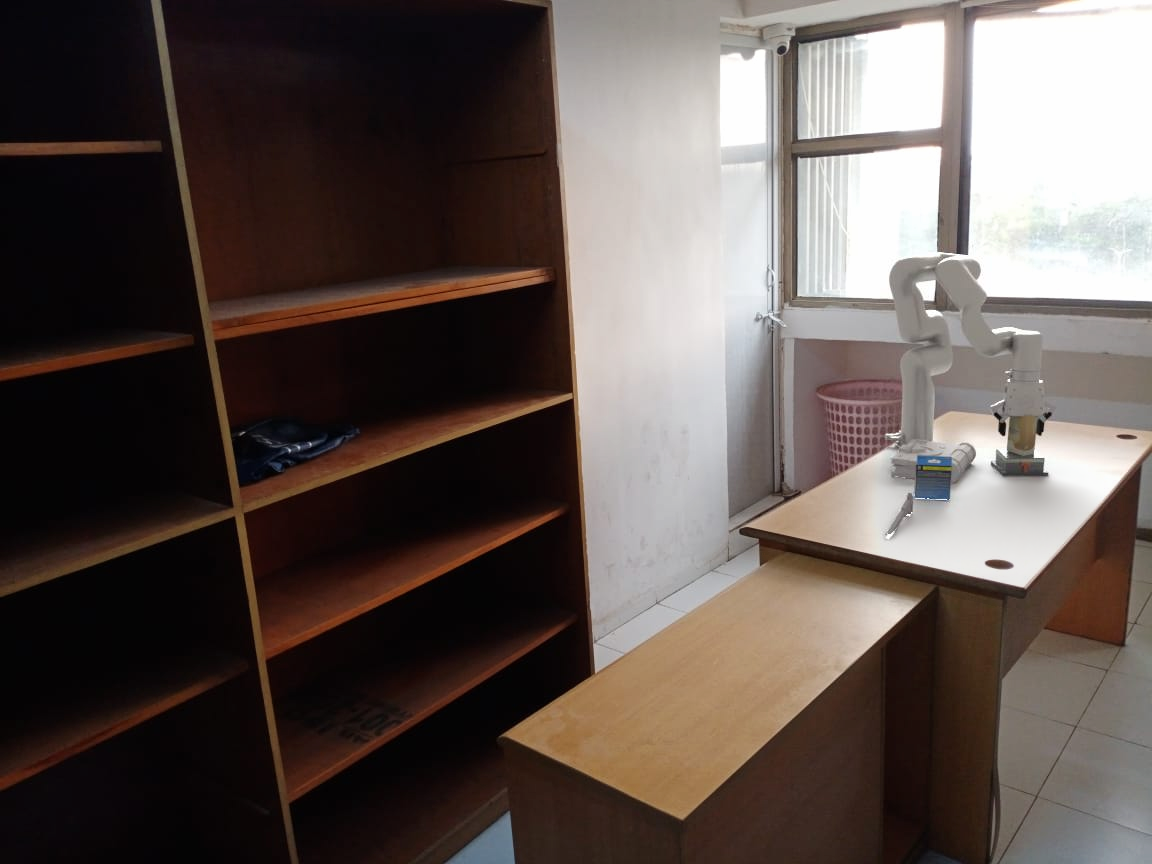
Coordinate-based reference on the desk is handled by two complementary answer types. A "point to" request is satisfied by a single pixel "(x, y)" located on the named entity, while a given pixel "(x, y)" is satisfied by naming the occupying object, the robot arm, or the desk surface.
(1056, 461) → the desk surface
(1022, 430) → the skincare box
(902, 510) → the caliper
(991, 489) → the desk surface
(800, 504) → the desk surface
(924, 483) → the label tape box
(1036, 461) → the grey piece
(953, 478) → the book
